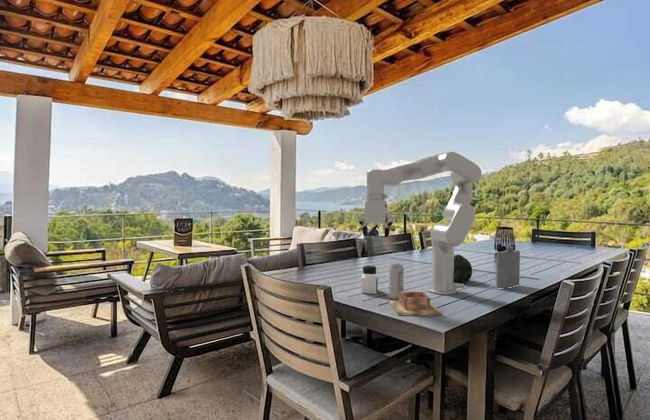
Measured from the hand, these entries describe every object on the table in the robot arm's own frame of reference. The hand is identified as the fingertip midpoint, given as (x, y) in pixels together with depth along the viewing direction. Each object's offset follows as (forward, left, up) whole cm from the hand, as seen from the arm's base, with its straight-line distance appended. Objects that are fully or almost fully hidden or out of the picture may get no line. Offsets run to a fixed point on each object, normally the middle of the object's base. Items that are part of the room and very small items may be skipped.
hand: (375, 236), depth 167 cm
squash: (-47, -29, -27) cm, 62 cm away
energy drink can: (-8, +5, -27) cm, 28 cm away
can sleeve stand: (-12, +20, -26) cm, 35 cm away
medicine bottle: (+2, -7, -27) cm, 28 cm away
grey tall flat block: (-67, -15, -27) cm, 74 cm away
